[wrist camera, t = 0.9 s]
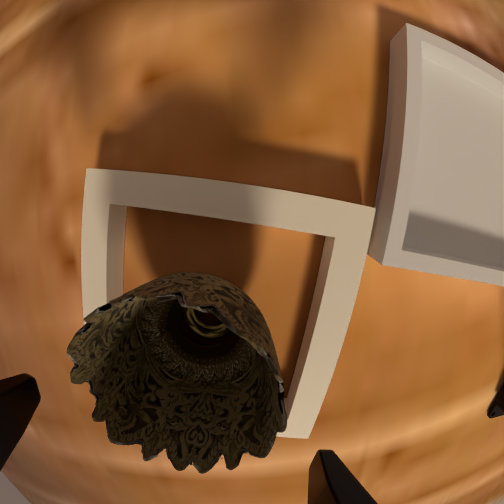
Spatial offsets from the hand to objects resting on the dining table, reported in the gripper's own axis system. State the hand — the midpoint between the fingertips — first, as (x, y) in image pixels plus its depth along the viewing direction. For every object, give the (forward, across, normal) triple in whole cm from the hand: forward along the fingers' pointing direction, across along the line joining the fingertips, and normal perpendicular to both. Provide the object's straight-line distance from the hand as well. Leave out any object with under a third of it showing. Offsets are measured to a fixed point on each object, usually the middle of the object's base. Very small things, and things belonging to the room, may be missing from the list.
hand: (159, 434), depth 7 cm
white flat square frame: (+9, 0, 0) cm, 9 cm away
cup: (+9, 0, 0) cm, 9 cm away
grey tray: (+9, -13, -10) cm, 19 cm away
